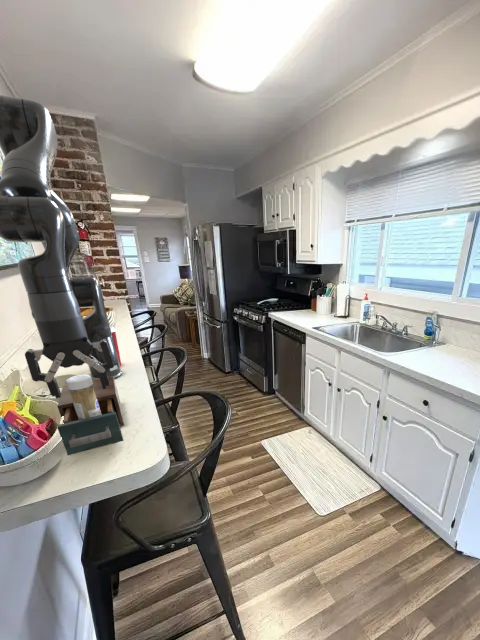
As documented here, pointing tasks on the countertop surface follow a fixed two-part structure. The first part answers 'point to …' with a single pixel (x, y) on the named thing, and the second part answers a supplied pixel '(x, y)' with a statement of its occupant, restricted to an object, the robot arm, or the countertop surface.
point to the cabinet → (100, 395)
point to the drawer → (90, 429)
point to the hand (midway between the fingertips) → (82, 392)
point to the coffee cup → (115, 342)
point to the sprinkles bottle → (83, 396)
